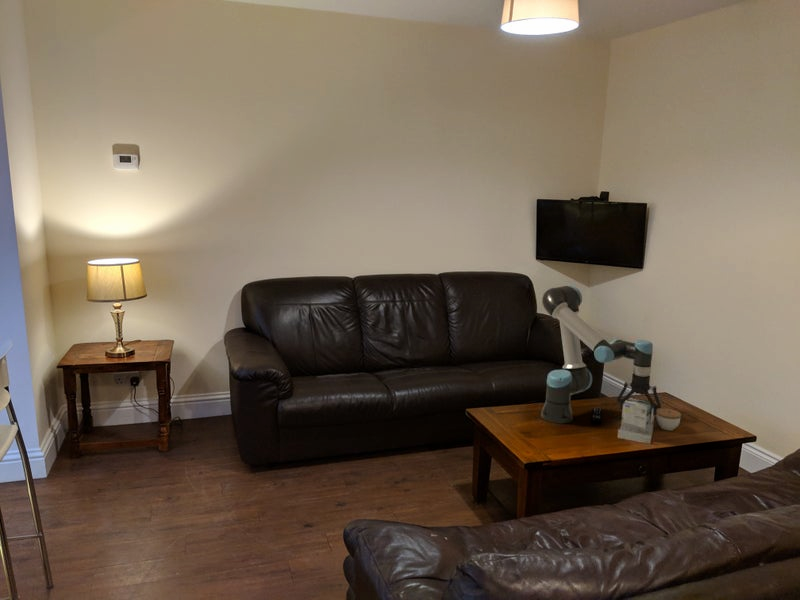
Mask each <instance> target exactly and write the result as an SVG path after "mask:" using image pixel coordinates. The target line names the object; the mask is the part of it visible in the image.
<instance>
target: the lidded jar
mask: <svg viewBox="0 0 800 600" xmlns="http://www.w3.org/2000/svg"><path fill="white" fill-rule="evenodd" d="M681 417H682V414H681V413H680V412H679V411H677V410H674V409H671V408H657V410H656V421H657V424H658V426H659V427H660V429H662V430H664V431H674V430H675V429H676V428H677V427H679V425H680V422H681Z"/></svg>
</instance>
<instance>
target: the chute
mask: <svg viewBox="0 0 800 600" xmlns="http://www.w3.org/2000/svg"><path fill="white" fill-rule="evenodd" d="M620 424H621V425H620V428H618V429H617V438H618V439H622V440H627V441H633V442H639V443H644V444H648V445H649V444H651V443H652V442H651V441H652V436H653V431H654V427H653V424H651V425H649V426H648V427H647V428H642V427H638V426H635V425H631V424H628V423H624V422H623V419H622V418H621V423H620Z"/></svg>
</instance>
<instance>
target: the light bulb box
mask: <svg viewBox="0 0 800 600" xmlns="http://www.w3.org/2000/svg"><path fill="white" fill-rule="evenodd" d="M652 407H653V406H652V405H651V403H650V402H649V401H645V400H640V399H637V398H633V397H629V398H628V399H627V400H626V401H625V406H624V418H623V422H624V423H628V424H631V425H635V426H638V427H642V428H647V427H648V426H649V425H651V412H652Z"/></svg>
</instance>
